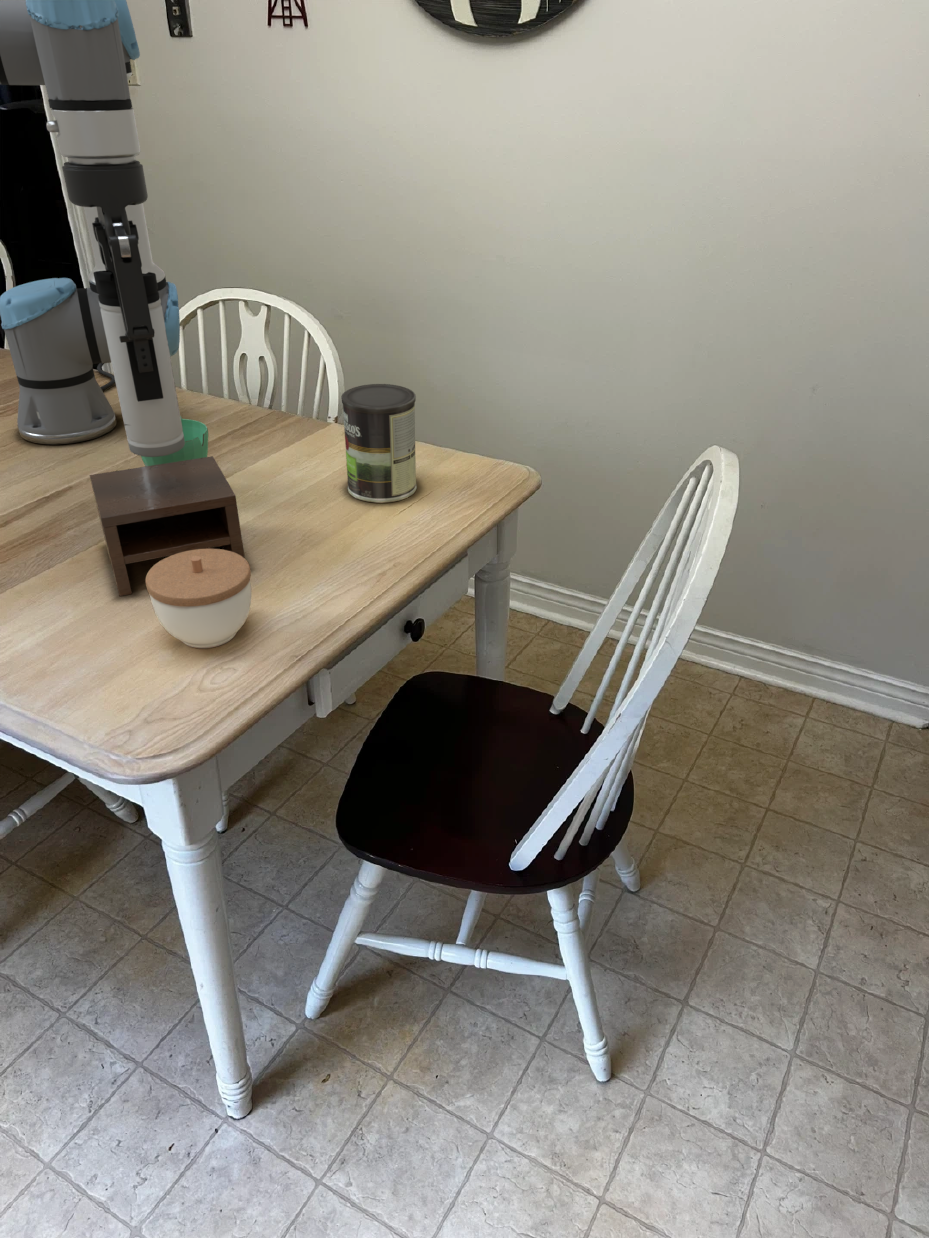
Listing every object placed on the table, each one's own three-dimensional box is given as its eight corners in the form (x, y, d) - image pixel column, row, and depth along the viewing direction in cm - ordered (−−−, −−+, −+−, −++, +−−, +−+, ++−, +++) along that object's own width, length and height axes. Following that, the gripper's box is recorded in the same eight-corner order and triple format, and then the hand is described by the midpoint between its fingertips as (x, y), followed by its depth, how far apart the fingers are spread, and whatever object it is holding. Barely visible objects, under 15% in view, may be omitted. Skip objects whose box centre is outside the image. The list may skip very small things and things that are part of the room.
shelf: (107, 548, 112) (89, 475, 107) (223, 526, 118) (212, 456, 112) (119, 596, 102) (100, 518, 97) (246, 570, 108) (235, 495, 102)
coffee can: (358, 508, 123) (352, 411, 115) (340, 479, 131) (333, 387, 123) (427, 497, 126) (425, 402, 118) (405, 470, 134) (402, 380, 127)
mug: (219, 508, 122) (208, 440, 117) (145, 516, 120) (131, 447, 115) (215, 468, 134) (205, 405, 129) (148, 474, 132) (136, 410, 127)
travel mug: (116, 454, 100) (76, 271, 89) (151, 434, 105) (117, 259, 95) (162, 462, 98) (128, 276, 88) (195, 441, 104) (166, 263, 93)
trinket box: (137, 639, 95) (119, 564, 90) (211, 597, 102) (199, 526, 97) (205, 672, 90) (191, 595, 85) (278, 626, 97) (269, 552, 92)
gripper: (53, 151, 92) (101, 369, 104) (68, 171, 77) (121, 422, 90) (128, 149, 94) (165, 362, 107) (156, 168, 80) (195, 412, 92)
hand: (145, 389), depth 98 cm, fingers closed on travel mug, 6 cm apart
